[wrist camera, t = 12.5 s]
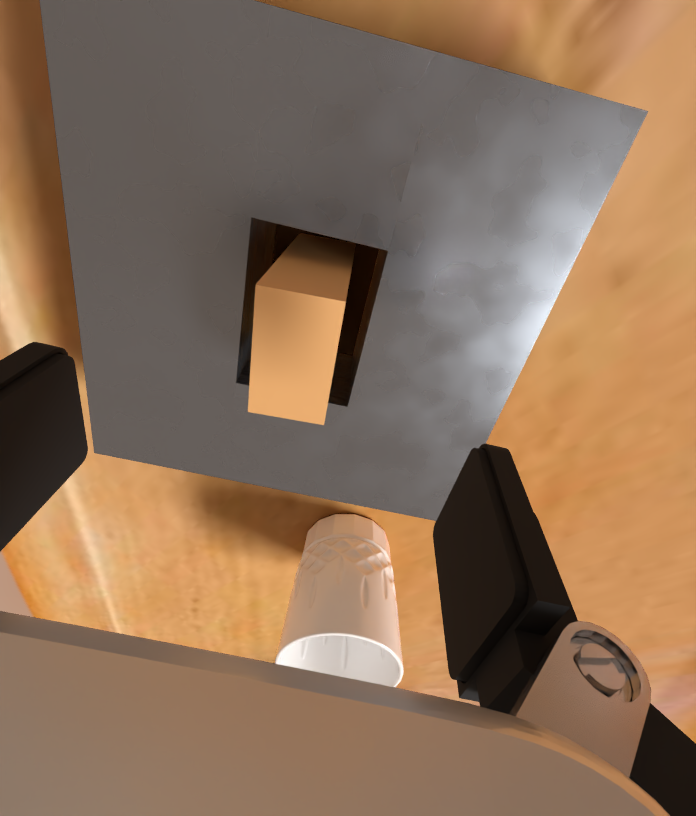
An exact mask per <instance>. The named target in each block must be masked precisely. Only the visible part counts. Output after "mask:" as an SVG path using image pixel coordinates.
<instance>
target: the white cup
mask: <svg viewBox="0 0 696 816" xmlns="http://www.w3.org/2000/svg"><path fill="white" fill-rule="evenodd" d="M275 664H280V665H285V666H290V667H295V668H300V669H305V670H310V671H315V672H320V673H325V674H330V675H335V676H340V677H345V678H350V679H356V680H361V681H366V682H371V683H376V684H381V685H386V686H390V687H396V686H397V685H398V684H399V682H400V681H401V679H402V676H403V661H402V651H401V641H400V631H399V621H398V611H397V601H396V593H395V586H394V577H393V570H392V565H391V560H390V548H389V543H388V540H387V537H386V534H385V531H384V530H383V529H382V528H381V527H380V526H378V525H377V524H376V523H375V522H374V521H373V520H370V519H368V518H365V517H362V516H359V515H356V514H334V515H332V516H329V517H326V518H323V519H320V520H318V521H317V522H316V523H315V524H314V525H313V526H312V528H311V529H310V530H309V531H308V533H307V537H306V542H305V547H304V551H303V554H302V558H301V561H300V563H299V564H298V570H297V573H296V576H295V580H294V585H293V589H292V592H291V595H290V599H289V604H288V608H287V613H286V617H285V622H284V626H283V630H282V634H281V638H280V643H279V647H278V651H277V655H276V660H275Z"/></svg>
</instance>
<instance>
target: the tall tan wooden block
mask: <svg viewBox="0 0 696 816" xmlns="http://www.w3.org/2000/svg"><path fill="white" fill-rule="evenodd" d="M355 246H356V244H354V243H349V242H344V241H339V240H334V239H328V238H323V237H318V236H313V235H308V234H303V233H300V234H299V235H298V236H297V237H296V238H295V239H294V241H293V242H292V243H291V244H290V245H289V246H288V248H287V249H286V250H285V251H284V252H283V253H282V255H281V256H280V257H279V258H278V259H277V260H276V261H275V263H274V264H273V265H272V266H271V267H270V268H269V270H268V271H267V272H266V273H265V274H264V275H263V277H262V278H261V279H260V280H259V281H258V282H257V284H256V285H255V301H254V317H253V334H252V350H251V367H250V383H249V400H248V412H251V413H257V414H263V415H268V416H274V417H280V418H286V419H291V420H297V421H303V422H309V423H314V424H320V425H324V422H325V417H326V411H327V406H328V400H329V394H330V389H331V383H332V377H333V372H334V366H335V360H336V355H337V349H338V343H339V338H340V332H341V326H342V321H343V315H344V309H345V304H346V298H347V292H348V287H349V281H350V275H351V269H352V264H353V258H354V252H355Z"/></svg>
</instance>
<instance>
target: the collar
mask: <svg viewBox="0 0 696 816" xmlns="http://www.w3.org/2000/svg"><path fill="white" fill-rule="evenodd" d="M40 8H41V16H42V25H43V33H44V41H45V49H46V58H47V66H48V74H49V82H50V91H51V99H52V107H53V116H54V124H55V132H56V140H57V149H58V157H59V165H60V173H61V182H62V190H63V198H64V206H65V215H66V223H67V231H68V239H69V248H70V256H71V264H72V273H73V281H74V289H75V297H76V306H77V314H78V322H79V330H80V339H81V347H82V355H83V363H84V372H85V380H86V388H87V396H88V405H89V413H90V421H91V430H92V438H93V446H94V453H97V454H102V455H107V456H112V457H117V458H122V459H128V460H133V461H138V462H143V463H148V464H153V465H158V466H163V467H168V468H173V469H178V470H183V471H188V472H193V473H198V474H203V475H208V476H213V477H218V478H223V479H228V480H233V481H238V482H243V483H248V484H253V485H258V486H263V487H268V488H273V489H278V490H284V491H289V492H294V493H299V494H304V495H309V496H314V497H319V498H324V499H329V500H334V501H339V502H344V503H349V504H354V505H359V506H364V507H369V508H374V509H379V510H384V511H389V512H394V513H399V514H404V515H409V516H414V517H419V518H424V519H429V520H434V521H436V520H437V518H438V516H439V514H440V512H441V510H442V508H443V506H444V504H445V502H446V500H447V498H448V496H449V494H450V492H451V490H452V488H453V486H454V484H455V482H456V480H457V478H458V476H459V473H460V471H461V469H462V467H463V465H464V463H465V461H466V459H467V457H468V455H469V453H470V451H471V450H472V449H473V448H479V447H480V446H481V445H482V444H485V443H486V441H487V439H488V437H489V435H490V433H491V431H492V429H493V427H494V425H495V423H496V421H497V419H498V417H499V415H500V413H501V411H502V409H503V407H504V405H505V403H506V401H507V398H508V396H509V394H510V392H511V390H512V388H513V386H514V384H515V382H516V380H517V378H518V376H519V374H520V372H521V370H522V368H523V366H524V364H525V362H526V360H527V358H528V356H529V354H530V352H531V349H532V347H533V345H534V343H535V341H536V339H537V337H538V335H539V333H540V331H541V329H542V327H543V325H544V323H545V321H546V319H547V317H548V315H549V313H550V311H551V309H552V307H553V305H554V303H555V301H556V298H557V296H558V294H559V292H560V290H561V288H562V286H563V284H564V282H565V280H566V278H567V276H568V274H569V272H570V270H571V268H572V266H573V264H574V262H575V260H576V258H577V256H578V254H579V252H580V249H581V247H582V245H583V243H584V241H585V239H586V237H587V235H588V233H589V231H590V229H591V227H592V225H593V223H594V221H595V219H596V217H597V215H598V213H599V211H600V209H601V207H602V205H603V203H604V201H605V198H606V196H607V194H608V192H609V190H610V188H611V186H612V184H613V182H614V180H615V178H616V176H617V174H618V172H619V170H620V168H621V166H622V164H623V162H624V160H625V158H626V156H627V154H628V152H629V149H630V147H631V145H632V143H633V141H634V139H635V137H636V135H637V133H638V131H639V129H640V127H641V125H642V123H643V121H644V119H645V117H646V115H647V113H648V111H645V110H642V109H638V108H635V107H631V106H628V105H624V104H620V103H617V102H613V101H610V100H606V99H603V98H599V97H596V96H592V95H589V94H585V93H581V92H578V91H574V90H571V89H567V88H564V87H560V86H557V85H553V84H549V83H546V82H542V81H539V80H535V79H532V78H528V77H525V76H521V75H517V74H514V73H510V72H507V71H503V70H500V69H496V68H493V67H489V66H485V65H482V64H478V63H475V62H471V61H468V60H464V59H461V58H457V57H453V56H450V55H446V54H443V53H439V52H436V51H432V50H429V49H425V48H422V47H418V46H414V45H411V44H407V43H404V42H400V41H397V40H393V39H390V38H386V37H382V36H379V35H375V34H372V33H368V32H365V31H361V30H358V29H354V28H350V27H347V26H343V25H340V24H336V23H333V22H329V21H326V20H322V19H318V18H315V17H311V16H308V15H304V14H301V13H297V12H294V11H290V10H287V9H283V8H279V7H276V6H272V5H269V4H265V3H262V2H258V1H255V0H40ZM277 224H281V225H285V226H289V227H293V228H297V229H301V230H305V231H309V232H313V233H318V234H322V235H326V236H330V237H334V238H338V239H342V240H346V241H350V242H354V243H358V244H363V245H367V246H371V247H375V248H379V252H378V256H377V260H376V264H375V268H374V272H373V276H372V280H371V284H370V288H369V292H368V296H367V300H366V304H365V308H364V312H363V316H362V320H361V324H360V328H359V332H358V336H357V340H356V344H355V348H354V352H353V356H351V355H346V354H342V353H337V355H336V360H335V366H334V372H333V377H332V383H331V389H330V394H329V400H328V406H327V411H326V417H325V422H324V425H320V424H314V423H309V422H303V421H297V420H291V419H286V418H280V417H274V416H268V415H263V414H257V413H251V412H248V400H249V383H250V367H251V350H252V334H253V317H254V301H255V285H256V284H257V282H258V281H259V280H260V279H261V278H262V277H263V275H264V274H265V273H266V272H267V271H268V270H269V268H270V267H271V266H272V261H273V253H274V245H275V237H276V229H277Z"/></svg>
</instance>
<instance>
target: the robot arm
mask: <svg viewBox="0 0 696 816" xmlns="http://www.w3.org/2000/svg"><path fill="white" fill-rule="evenodd" d="M87 451H88V446H87V440H86V433H85V427H84V420H83V414H82V407H81V401H80V394H79V388H78V381H77V375H76V368H75V363H74V360H73V358H72V357H70V356H68V353H67V352H66V350H65V349H63V348H60V347H56V346H52V345H47V344H43V343H38V342H32V343H30V344H28V345H26V346H24V347H23V348H21V349H19V350H17V351H16V352H14V353H12V354H11V355H9V356H7V357H5V358H4V359H2V360H0V551H1V550H2V549H3V548H4V547H5V546H6V545H7V544H8V543H9V542H10V541H11V539H12V538H13V537H14V536H15V535H16V534H17V533H18V532H19V531H20V530H21V529H22V528H23V527H24V525H25V524H26V523H27V522H28V521H29V520H30V519H31V518H32V517H33V516H34V515H35V514H36V513H37V511H38V510H39V509H40V508H41V507H42V506H43V505H44V504H45V503H46V502H47V501H48V500H49V498H50V497H51V496H52V495H53V494H54V493H55V492H56V491H57V490H58V489H59V488H60V487H61V486H62V484H63V483H64V482H65V481H66V480H67V479H68V478H69V477H70V476H71V475H72V474H73V473H74V472H75V470H76V469H77V468H78V467H79V466H80V465H81V464H82V463H83V461H84V460H85V458H86V455H87ZM433 540H434V549H435V557H436V566H437V574H438V583H439V592H440V600H441V609H442V617H443V626H444V635H445V643H446V652H447V660H448V669H449V674H450V677H451V678H452V679H454V680H457V684H458V692H459V698H462V699H467V700H473V701H478V702H480V706H476V705H472V704H468V703H464V702H460V701H455V700H450V699H446V698H441V697H436V696H432V695H427V694H423V693H418V692H413V691H409V690H404V689H399V688H395V687H390V686H386V685H381V684H376V683H371V682H366V681H361V680H356V679H350V678H345V677H340V676H335V675H330V674H325V673H320V672H315V671H310V670H305V669H300V668H295V667H290V666H285V665H280V664H274V663H269V662H264V661H259V660H254V659H249V658H244V657H239V656H234V655H228V654H223V653H218V652H213V651H208V650H203V649H197V648H192V647H187V646H182V645H177V644H171V643H166V642H161V641H156V640H151V639H145V638H140V637H135V636H130V635H124V634H119V633H114V632H109V631H103V630H98V629H93V628H88V627H83V626H77V625H72V624H67V623H61V622H56V621H51V620H45V619H40V618H35V617H29V616H24V615H18V614H13V613H7V612H2V611H0V816H696V744H695V743H694V742H693V741H692V740H691V739H690V738H689V737H688V736H686V735H685V734H684V733H683V732H682V731H681V730H680V729H679V728H678V727H676V726H675V725H674V724H673V723H672V722H671V721H670V720H669V719H667V718H666V717H665V716H664V715H663V714H662V713H661V712H660V711H659V710H657V709H656V708H655V707H654V706H653V705H652V704H651V703H650V701H651V687H650V684H649V680H648V677H647V674H646V672H645V671H644V669H643V667H642V665H641V663H640V662H639V660H638V659H637V658H636V656H635V655H634V654H633V653H632V651H631V650H630V649H629V648H628V647H627V646H626V645H625V644H624V643H623V642H622V641H621V640H620V639H619V638H618V637H616V636H615V635H614V634H612V633H610V632H609V631H607V630H606V629H604V628H603V627H600V626H598V625H595V624H593V623H590V622H583V621H578V620H577V617H576V615H575V612H574V610H573V607H572V605H571V602H570V600H569V597H568V595H567V592H566V589H565V587H564V584H563V582H562V579H561V577H560V574H559V572H558V569H557V567H556V564H555V562H554V559H553V556H552V554H551V551H550V549H549V546H548V544H547V541H546V539H545V536H544V534H543V531H542V529H541V526H540V523H539V521H538V519H537V517H536V515H535V513H534V512H533V510H532V507H531V505H530V502H529V500H528V497H527V495H526V492H525V489H524V487H523V484H522V482H521V479H520V477H519V474H518V471H517V469H516V466H515V464H514V461H513V459H512V456H511V454H510V452H509V450H508V449H506V448H502V447H498V446H493V445H489V444H482V445H481V446H480V447H479V448H473V449H472V450H471V451H470V453H469V455H468V457H467V459H466V461H465V463H464V465H463V467H462V469H461V471H460V473H459V476H458V478H457V480H456V482H455V484H454V486H453V488H452V490H451V492H450V494H449V496H448V498H447V500H446V502H445V504H444V506H443V508H442V510H441V512H440V514H439V516H438V518H437V520H436V523H435V526H434V531H433Z"/></svg>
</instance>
